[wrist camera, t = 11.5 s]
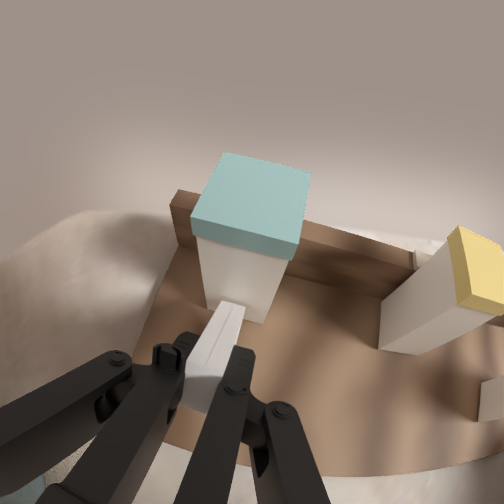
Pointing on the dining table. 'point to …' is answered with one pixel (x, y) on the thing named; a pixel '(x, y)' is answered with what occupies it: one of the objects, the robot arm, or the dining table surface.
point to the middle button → (445, 296)
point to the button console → (341, 357)
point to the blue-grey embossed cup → (26, 493)
